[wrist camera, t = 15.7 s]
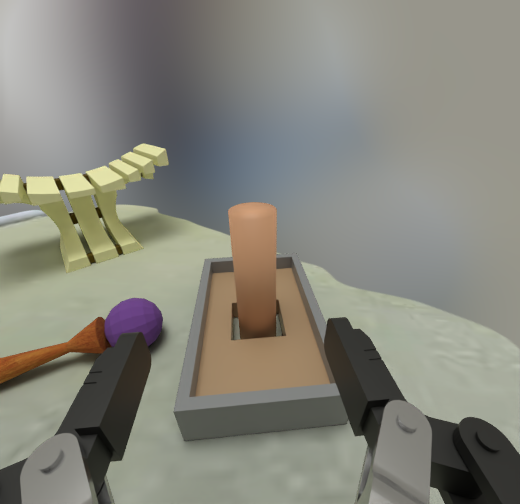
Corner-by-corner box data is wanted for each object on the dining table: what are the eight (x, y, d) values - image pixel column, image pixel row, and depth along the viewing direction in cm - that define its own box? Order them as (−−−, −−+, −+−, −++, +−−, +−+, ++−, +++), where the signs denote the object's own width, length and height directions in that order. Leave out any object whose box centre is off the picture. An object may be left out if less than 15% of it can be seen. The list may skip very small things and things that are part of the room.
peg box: (184, 440, 21) (173, 411, 19) (208, 283, 40) (204, 258, 38) (346, 423, 22) (355, 393, 20) (295, 276, 41) (296, 253, 39)
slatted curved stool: (157, 215, 66) (139, 142, 57) (183, 235, 55) (165, 149, 47) (7, 254, 50) (-51, 161, 41) (2, 293, 39) (-78, 178, 30)
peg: (240, 349, 29) (227, 221, 21) (239, 321, 33) (228, 203, 25) (278, 346, 29) (279, 218, 21) (273, 319, 33) (273, 201, 25)
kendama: (-48, 345, 26) (153, 283, 32) (-15, 386, 28) (167, 322, 34) (-100, 389, 21) (152, 306, 26) (-55, 436, 23) (169, 350, 29)
